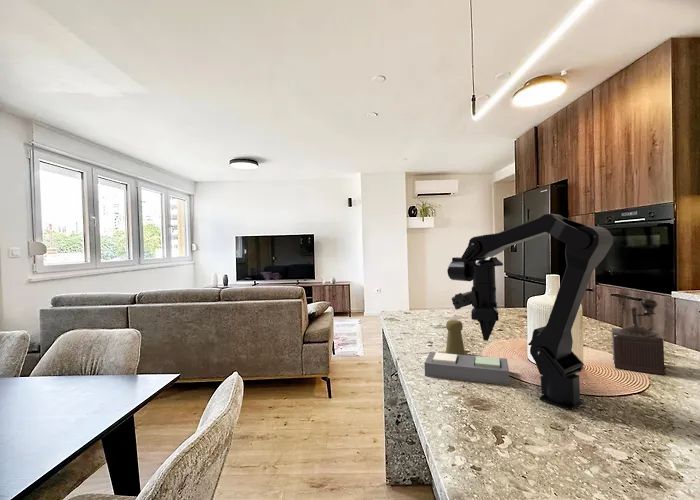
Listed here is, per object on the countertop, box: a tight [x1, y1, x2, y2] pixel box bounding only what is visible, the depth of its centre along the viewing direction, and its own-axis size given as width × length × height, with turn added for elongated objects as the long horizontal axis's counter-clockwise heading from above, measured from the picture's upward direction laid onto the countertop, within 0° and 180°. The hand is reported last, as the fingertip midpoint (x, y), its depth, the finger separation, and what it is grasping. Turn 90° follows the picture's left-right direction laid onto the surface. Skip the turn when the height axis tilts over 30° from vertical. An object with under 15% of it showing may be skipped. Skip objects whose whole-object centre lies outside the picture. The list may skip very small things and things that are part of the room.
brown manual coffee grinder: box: [611, 298, 667, 376], centre depth 93 cm, size 16×11×18 cm
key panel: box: [424, 351, 511, 386], centre depth 91 cm, size 21×10×4 cm, turn 67°
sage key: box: [475, 355, 500, 368], centre depth 89 cm, size 6×6×3 cm
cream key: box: [433, 352, 457, 364], centre depth 93 cm, size 6×6×3 cm
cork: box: [445, 319, 466, 355], centre depth 108 cm, size 6×6×11 cm
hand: (485, 340), depth 89 cm, fingers closed
